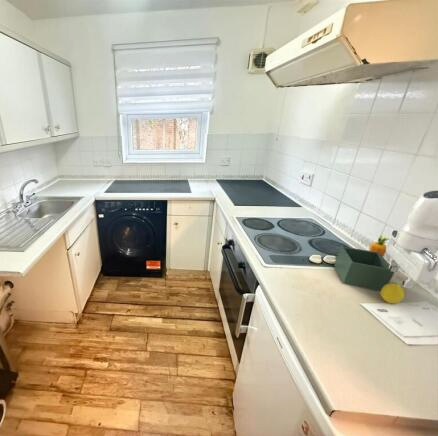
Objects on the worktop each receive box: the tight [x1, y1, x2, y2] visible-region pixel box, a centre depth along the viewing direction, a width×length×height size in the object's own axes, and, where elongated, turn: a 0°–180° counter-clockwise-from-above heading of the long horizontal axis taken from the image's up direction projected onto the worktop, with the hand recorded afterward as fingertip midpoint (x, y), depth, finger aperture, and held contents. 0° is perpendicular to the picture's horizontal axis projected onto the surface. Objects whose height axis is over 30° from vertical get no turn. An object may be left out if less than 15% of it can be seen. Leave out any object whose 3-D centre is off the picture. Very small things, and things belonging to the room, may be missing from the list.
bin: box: [333, 246, 395, 292], centre depth 94 cm, size 13×14×10 cm
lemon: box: [380, 282, 405, 304], centre depth 82 cm, size 6×6×8 cm
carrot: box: [368, 234, 390, 257], centre depth 100 cm, size 5×5×15 cm
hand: (398, 278), depth 79 cm, fingers open, 8 cm apart
